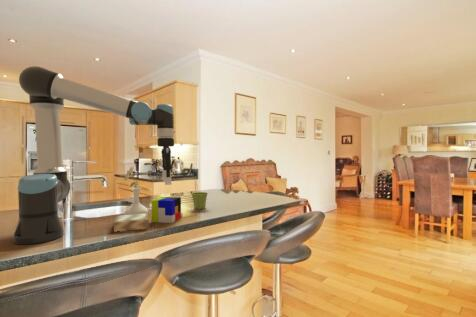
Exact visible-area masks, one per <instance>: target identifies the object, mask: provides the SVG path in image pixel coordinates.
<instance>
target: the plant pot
mask: <svg viewBox="0 0 476 317" xmlns="http://www.w3.org/2000/svg"><path fill="white" fill-rule="evenodd" d="M208 193H209V192H205V191H204V192H203V191H200V192H199V191H198V192H197V191H196V192H191V193H190V194H191V197H192V201H193V207H194V210H201V209H202V210H205V209H206V204H207V198H208V197H207V196H208Z"/></svg>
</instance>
